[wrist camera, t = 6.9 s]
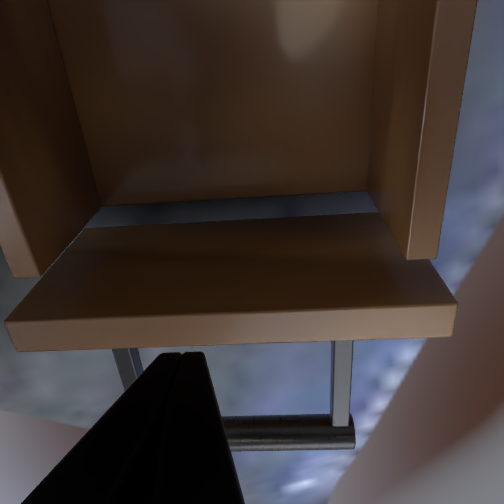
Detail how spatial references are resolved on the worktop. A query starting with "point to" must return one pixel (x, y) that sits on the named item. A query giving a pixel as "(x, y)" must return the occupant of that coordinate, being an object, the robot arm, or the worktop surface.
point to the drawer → (230, 178)
